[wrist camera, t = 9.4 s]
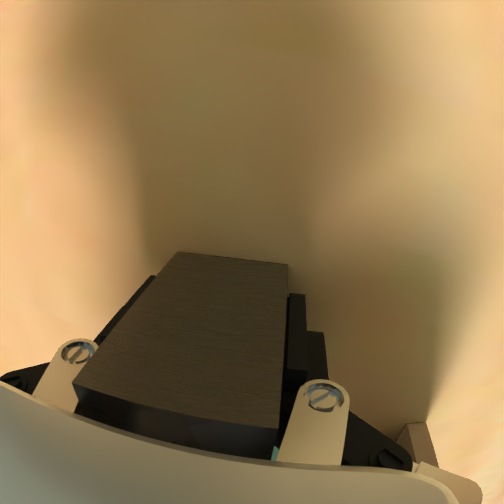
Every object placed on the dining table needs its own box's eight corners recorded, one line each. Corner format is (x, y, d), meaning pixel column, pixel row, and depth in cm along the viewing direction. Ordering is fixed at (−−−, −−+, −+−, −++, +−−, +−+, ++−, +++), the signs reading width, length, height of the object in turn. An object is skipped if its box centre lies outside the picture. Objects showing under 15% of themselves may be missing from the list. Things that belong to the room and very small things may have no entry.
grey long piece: (177, 251, 12) (71, 382, 5) (354, 272, 11) (407, 431, 5) (194, 476, 18) (169, 561, 11) (288, 489, 17) (280, 577, 11)
